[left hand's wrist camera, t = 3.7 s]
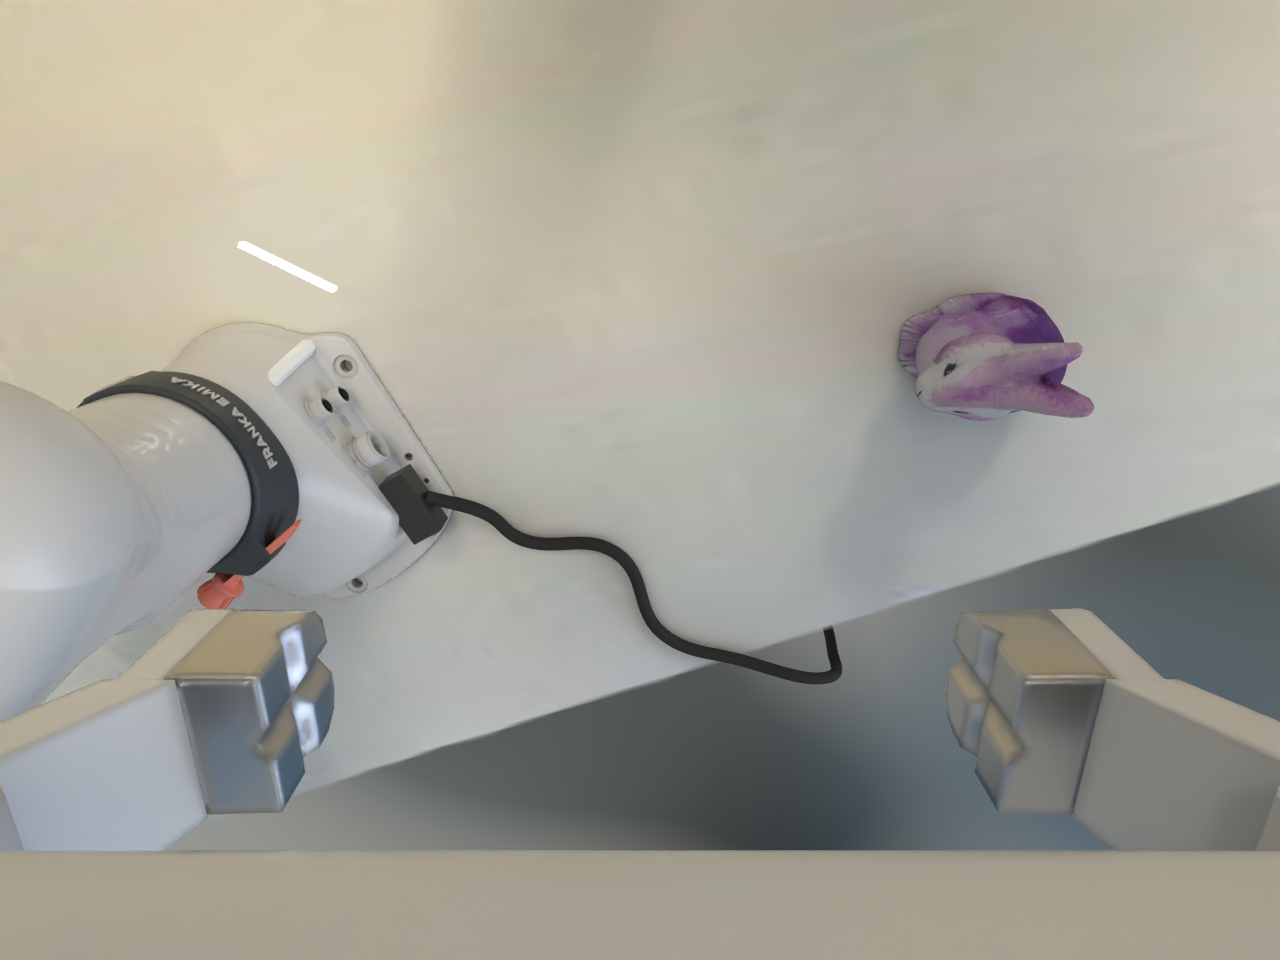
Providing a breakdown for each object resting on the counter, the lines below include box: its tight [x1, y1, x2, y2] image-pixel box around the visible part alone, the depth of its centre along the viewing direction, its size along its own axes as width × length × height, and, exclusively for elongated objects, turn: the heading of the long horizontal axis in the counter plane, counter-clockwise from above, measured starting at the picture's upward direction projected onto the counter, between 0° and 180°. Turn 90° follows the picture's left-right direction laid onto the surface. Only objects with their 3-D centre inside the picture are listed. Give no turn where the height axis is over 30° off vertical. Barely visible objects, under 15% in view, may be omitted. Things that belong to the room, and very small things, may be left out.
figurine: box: [899, 293, 1094, 421], centre depth 50 cm, size 9×10×15 cm
